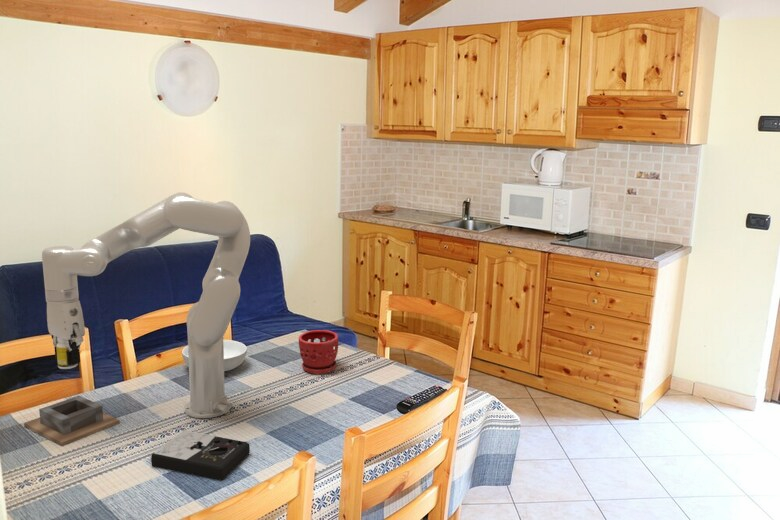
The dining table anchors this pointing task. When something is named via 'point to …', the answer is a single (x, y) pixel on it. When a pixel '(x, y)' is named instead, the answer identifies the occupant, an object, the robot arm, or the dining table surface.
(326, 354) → the plant pot
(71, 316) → the robot arm
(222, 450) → the multimeter
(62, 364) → the supplement bottle
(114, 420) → the pocket board
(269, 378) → the dining table surface
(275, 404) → the dining table surface
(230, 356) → the serving bowl
